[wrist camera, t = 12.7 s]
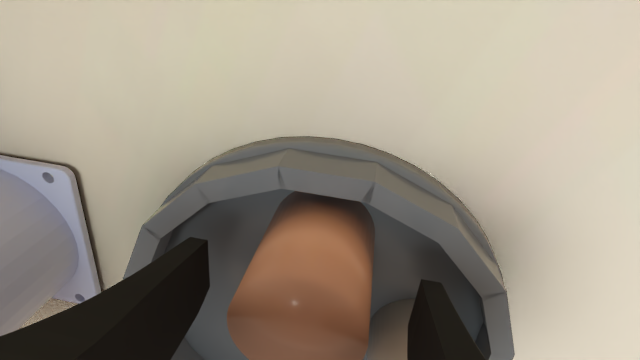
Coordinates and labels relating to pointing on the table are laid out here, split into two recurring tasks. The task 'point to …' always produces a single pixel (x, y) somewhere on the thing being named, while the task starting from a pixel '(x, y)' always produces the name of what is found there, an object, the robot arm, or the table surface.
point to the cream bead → (390, 331)
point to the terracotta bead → (308, 283)
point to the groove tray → (340, 182)
